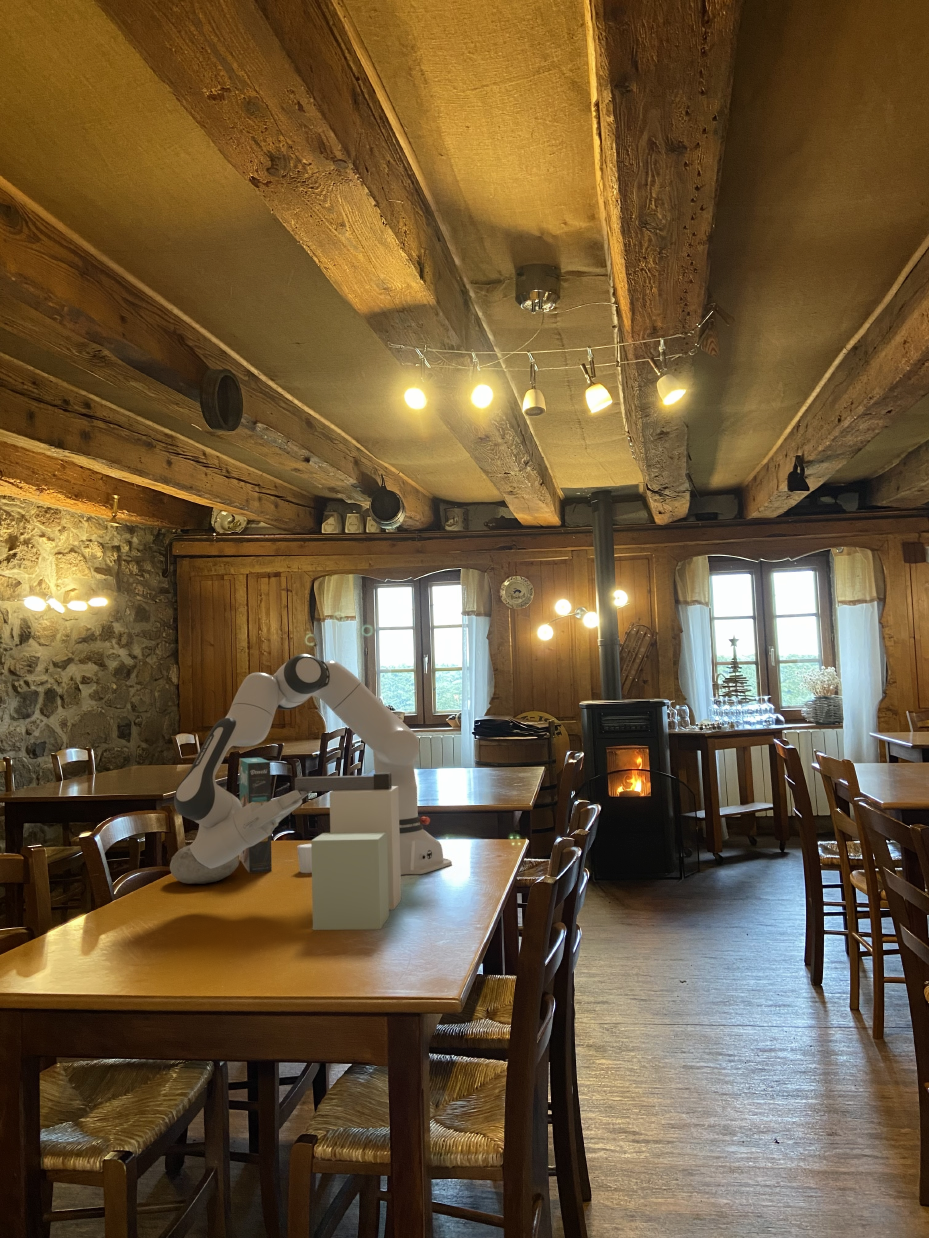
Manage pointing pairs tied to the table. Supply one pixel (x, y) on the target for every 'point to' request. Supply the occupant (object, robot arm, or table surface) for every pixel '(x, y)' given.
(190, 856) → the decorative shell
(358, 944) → the table surface
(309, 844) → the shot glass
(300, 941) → the table surface
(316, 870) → the low post
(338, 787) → the metal bar
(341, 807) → the tall post
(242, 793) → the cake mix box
